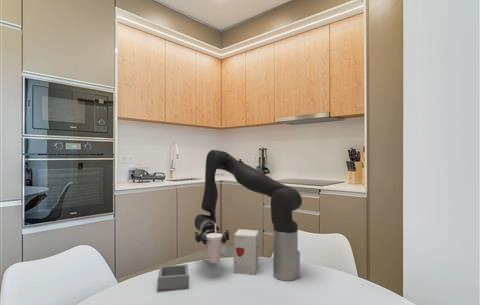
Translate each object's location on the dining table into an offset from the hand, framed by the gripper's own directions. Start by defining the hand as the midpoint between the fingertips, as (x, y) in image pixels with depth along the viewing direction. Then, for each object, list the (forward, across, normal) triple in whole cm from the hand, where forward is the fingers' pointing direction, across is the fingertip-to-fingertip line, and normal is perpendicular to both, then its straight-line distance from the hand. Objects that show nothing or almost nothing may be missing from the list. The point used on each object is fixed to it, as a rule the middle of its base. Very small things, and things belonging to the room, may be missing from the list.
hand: (215, 241), depth 96 cm
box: (0, -15, +14) cm, 20 cm away
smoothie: (-2, 0, +8) cm, 9 cm away
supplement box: (-7, +14, +14) cm, 21 cm away
